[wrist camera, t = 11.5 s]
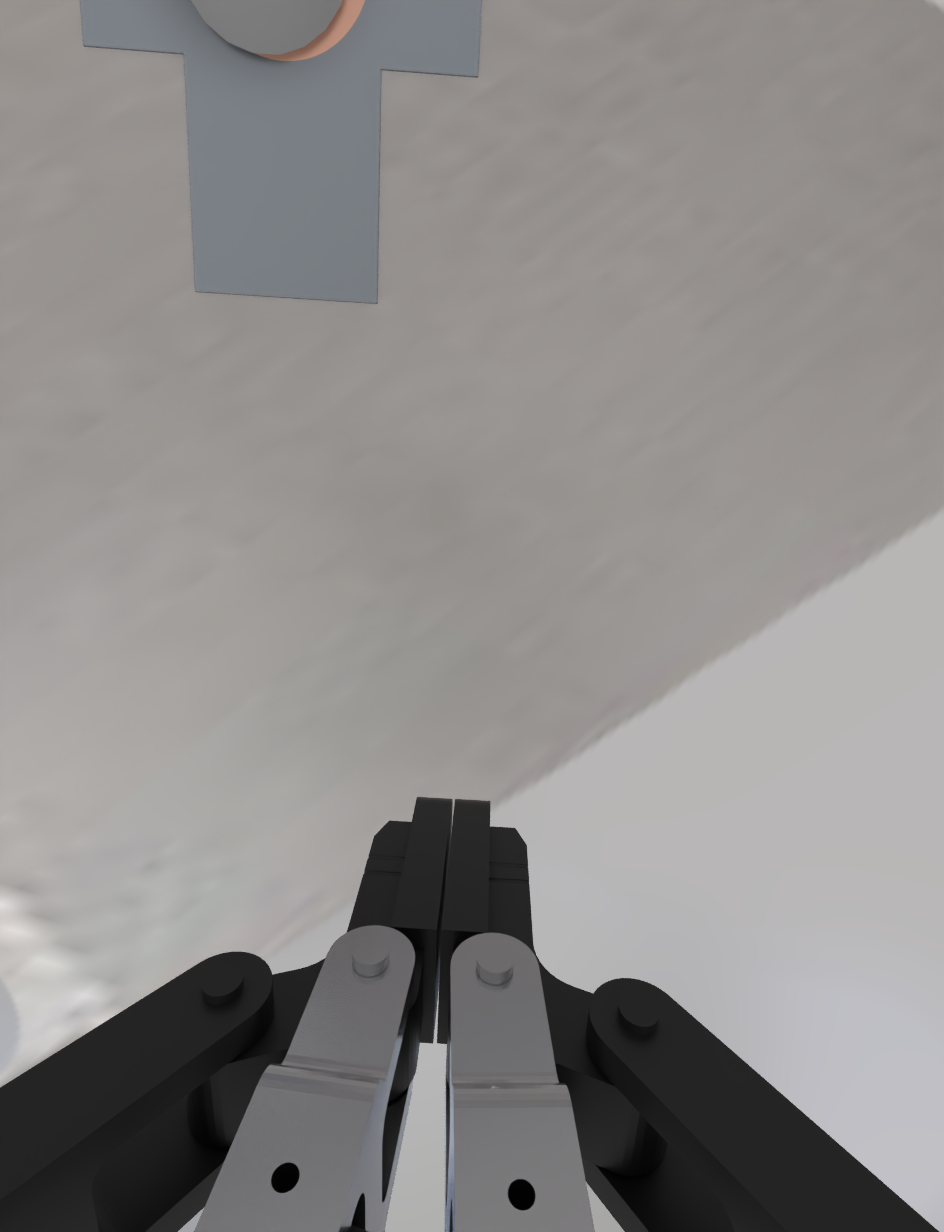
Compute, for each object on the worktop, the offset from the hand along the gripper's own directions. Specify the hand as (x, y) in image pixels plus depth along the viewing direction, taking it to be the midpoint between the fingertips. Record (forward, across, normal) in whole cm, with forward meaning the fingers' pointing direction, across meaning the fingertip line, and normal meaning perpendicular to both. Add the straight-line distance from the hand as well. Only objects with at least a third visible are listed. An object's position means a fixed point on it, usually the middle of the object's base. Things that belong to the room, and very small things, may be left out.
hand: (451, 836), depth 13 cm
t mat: (+25, +10, -22) cm, 35 cm away
